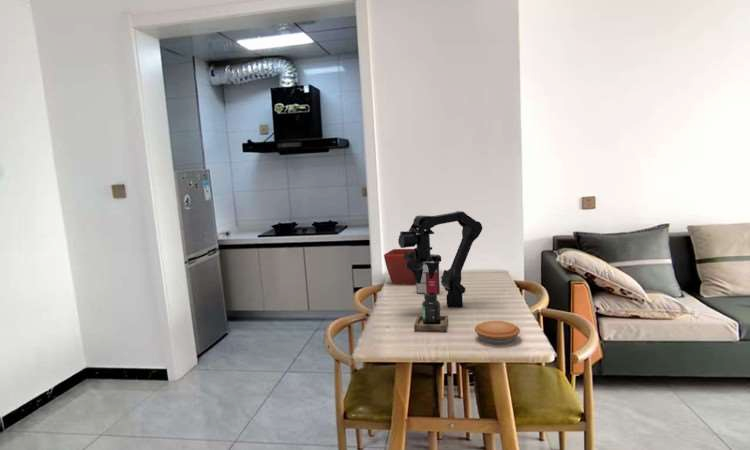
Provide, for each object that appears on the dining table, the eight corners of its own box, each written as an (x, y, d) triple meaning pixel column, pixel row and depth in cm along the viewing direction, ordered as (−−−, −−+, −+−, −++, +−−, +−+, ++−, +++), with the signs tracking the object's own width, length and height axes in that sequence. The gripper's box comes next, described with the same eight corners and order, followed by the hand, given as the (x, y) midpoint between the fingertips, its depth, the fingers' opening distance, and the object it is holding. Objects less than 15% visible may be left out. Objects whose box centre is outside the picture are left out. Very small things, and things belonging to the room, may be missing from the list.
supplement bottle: (422, 327, 178) (421, 296, 177) (423, 321, 185) (421, 292, 184) (440, 327, 177) (439, 296, 176) (440, 321, 184) (439, 291, 183)
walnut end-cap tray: (448, 321, 186) (448, 315, 185) (446, 331, 174) (446, 325, 174) (418, 321, 188) (417, 315, 188) (414, 331, 177) (414, 325, 176)
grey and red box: (416, 293, 230) (414, 263, 228) (418, 291, 234) (417, 262, 232) (438, 294, 226) (436, 264, 224) (440, 292, 230) (438, 262, 228)
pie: (493, 350, 154) (492, 335, 154) (466, 336, 169) (465, 323, 168) (530, 341, 160) (529, 327, 160) (501, 328, 175) (500, 315, 174)
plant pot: (394, 277, 268) (393, 248, 266) (427, 278, 262) (426, 248, 260) (385, 285, 250) (383, 254, 248) (420, 286, 244) (418, 254, 242)
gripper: (419, 241, 210) (421, 275, 212) (394, 247, 196) (396, 284, 198) (441, 242, 203) (442, 277, 205) (416, 249, 189) (418, 287, 191)
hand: (425, 281), depth 200 cm, fingers open, 9 cm apart
